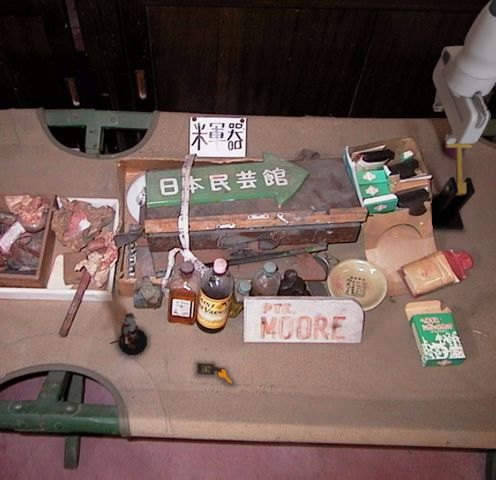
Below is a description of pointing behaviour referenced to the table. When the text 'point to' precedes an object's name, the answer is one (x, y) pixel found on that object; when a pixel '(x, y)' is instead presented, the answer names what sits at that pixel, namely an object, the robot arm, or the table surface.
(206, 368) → the key tag
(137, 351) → the figurine
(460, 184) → the lever
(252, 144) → the table surface
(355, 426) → the table surface
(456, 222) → the black slotted stand
